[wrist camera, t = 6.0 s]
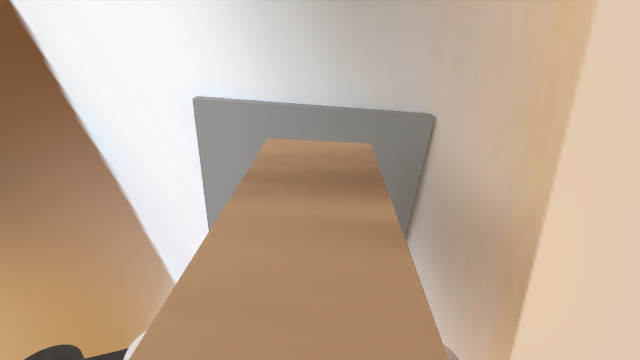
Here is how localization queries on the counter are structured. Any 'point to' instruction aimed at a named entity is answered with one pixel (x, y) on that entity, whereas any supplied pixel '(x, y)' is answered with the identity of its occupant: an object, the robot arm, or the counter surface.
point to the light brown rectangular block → (300, 269)
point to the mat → (306, 124)
